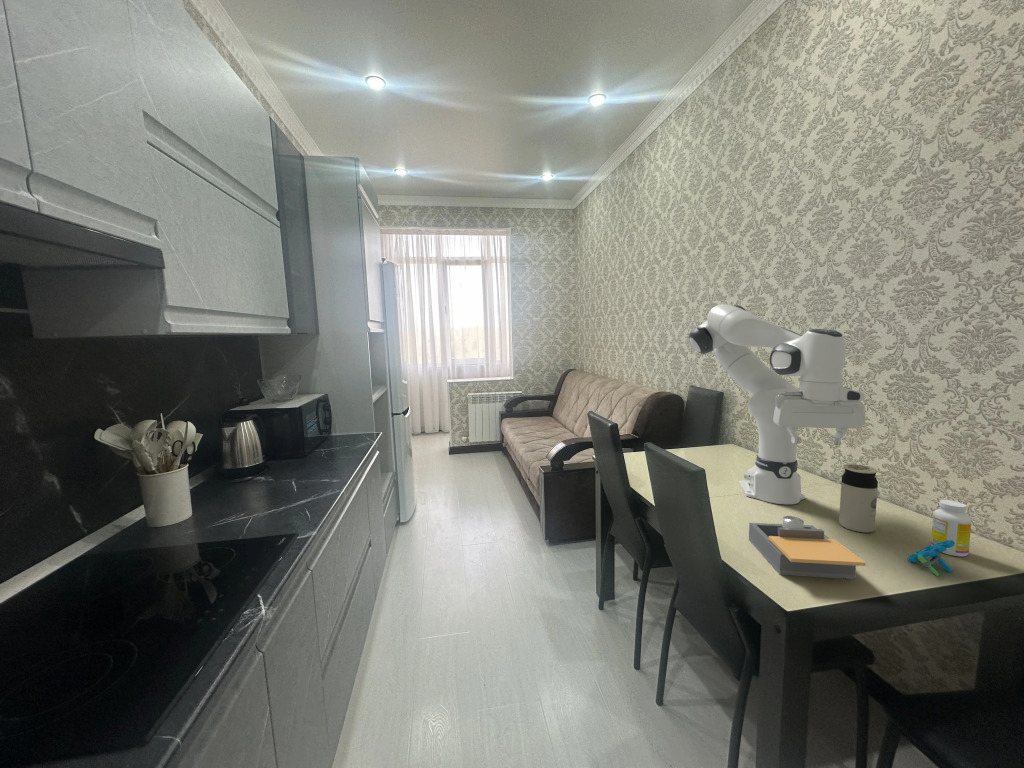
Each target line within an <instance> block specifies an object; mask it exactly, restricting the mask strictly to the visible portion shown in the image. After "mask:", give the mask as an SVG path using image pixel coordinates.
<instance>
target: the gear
mask: <svg viewBox="0 0 1024 768" xmlns="http://www.w3.org/2000/svg"><path fill="white" fill-rule="evenodd" d="M954 544H955V542H954V541H953V540H950V541H949V540H946V541H944V542H938V543H936V544H935V545H933V546H931V545H927V546H925V547H924V549H919V550H917V551H915V553H912V554H911V555H909V556H908V557H907V558H906V560H908V561H909V563H912V562H913V563H916V562H918V561H920V563H921V564H922V566H923V567H924V568H928V569H929V570H930V571H931V572H932V573H933V574H934V575H935V576H936V577H939V576H940V575H941V574H940V573H939V572H938V571H937V570H936V569H935V568H934V567H933V566H932V565H933V564H934V563H935V562H938V564H939V565H941V567H942V568H943V569H944V570H945V571H946V572H947V573H950V572H953V569H952V568H951V567H950V566H949V565H948V564H947V562H946V561H944V560H943V559H942V556H941V554H939V553H942V552H944V551H946V550H947V549H946V548H951V547H953V546H954ZM929 557H931V558H930V559H929V560H928V559H927V558H929Z"/></svg>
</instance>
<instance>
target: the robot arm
mask: <svg viewBox="0 0 1024 768" xmlns="http://www.w3.org/2000/svg"><path fill="white" fill-rule="evenodd" d="M706 317H707V318H706V320H705V321H704V322H702V323H701V324H700V325H698V326H697V327H695V328H693V329H692V330H691V332H689V335H688V340H689V343H690V346H691V348H692V349H693V350H694V351H696V352H697V353H699V354H702V355H705V354H710V353H712V352H713V353H714V356H715V358H716V359H717V361H718V363H719V364H720V366H721V367H722V369H724V371H725V372H726V373H727V374H728V375H729V376H730V377H731V378H732V379H733V381H735V383H736V384H737V385H738V386H739V387H740V388H742V390H744V391H746V392H749V393H750V394H751V395H752V396H751V397H750V398H749V399H748V402H747V403H748V404H747V408H748V412H749V414H750V415H751V416H752V417H753V418H754V420H755V424H756V427H757V432H758V454H756V458H755V462H754V465H753V466H752V467H750V468H748V469H747V471H746V473H744V474H743V479H741V480H739V482H738V484H739V486H740V488H741V489H742V491H743V493H744V494H745V496H746V497H749V498H753V499H757V500H760V501H763V502H766V503H771V504H777V505H797V504H799V503H800V502H801V501H802V500H804V499H806V495H805V494H803V493H802V481H801V479H802V478H801V475H800V474H799V473H798V472H797V471H798V467H799V464H798V460H797V447H798V444H801V442H802V437H801V436H798V434H797V431H798V428H813V429H814V428H815V429H817V428H818V429H821V428H823V429H835V430H836V433H835V435H833V436H830V438H829V439H830V440H829V442H830V443H829V444H832V445H833V446H834V445H835V446H838V445H841V441H842V439H843V438H844V436H845V435H846V434H847V432H848V429H857V430H858V429H861V428H862V427H864V426H865V423H866V406H865V404H864V402H862V401H864V400H865V393H864V392H862V391H858V390H855V389H852V388H849V387H845V386H843V385H844V379H843V370H844V368H845V364H846V363H845V362H846V353H847V352H846V339H845V336H844V334H842V332H840V331H837V330H833V329H824V328H813V329H809V330H807V331H806V332H805V333H804V334H803V335H802V334H801V333H799V332H796V331H792V330H790V329H789V328H785V327H781V326H779V325H777V324H775V323H772V322H770V321H768V320H766V319H763V318H762V317H759V316H757V315H755V314H754V313H751V312H749V311H747V310H746V308H745V307H743V306H742V305H739V304H734V305H731V304H728V303H727V304H725V303H721V304H717V305H715V306H714V307H712V308H711V309H710V310H709V312H708V314H707V316H706ZM748 347H752V348H753V347H758V348H759V347H760V348H761V347H762V348H771V349H772V348H773V349H772V350H771V351H770V355H769V365H770V367H771V368H770V367H769V366H767V365H766V364H765V363H764V362H763V361H762V360H761V358H759V357H758V356H757V355H756V354H755V353H754V352H753V351H752V350H751V349H750V348H748ZM782 376H786V377H799V378H800V379H799V387H796V386H795V385H794V384H792V383H790V382H789V381H787V380H786V379H785V378H783V377H782Z"/></svg>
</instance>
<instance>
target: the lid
mask: <svg viewBox="0 0 1024 768" xmlns="http://www.w3.org/2000/svg"><path fill="white" fill-rule="evenodd" d="M824 534H825V530H823V529H822V528H817V529H807V528H785V527H778V536H769V537H768V539H769V540H770V541H771V542H772V543H773V544H774V545H775V546H776V547H777V548H778V549H779V550H780V551H781V552H782V553H783V554H784V555H785V556H786V557H787V558H788V559H789V560H790V561H791V562H802V563H820V564H837V565H854V566H856V567H858V566H859V567H866V564H867V563H866V561H864V560H863V559H862V558H860V557H859V556H857V555H856V554H855V553H854V552H852V551H851V550H849V549H848V548H847V547H845V546H844V545H843V544H841V543H840V542H839V541H837V539H835V538H830V539H824Z"/></svg>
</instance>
